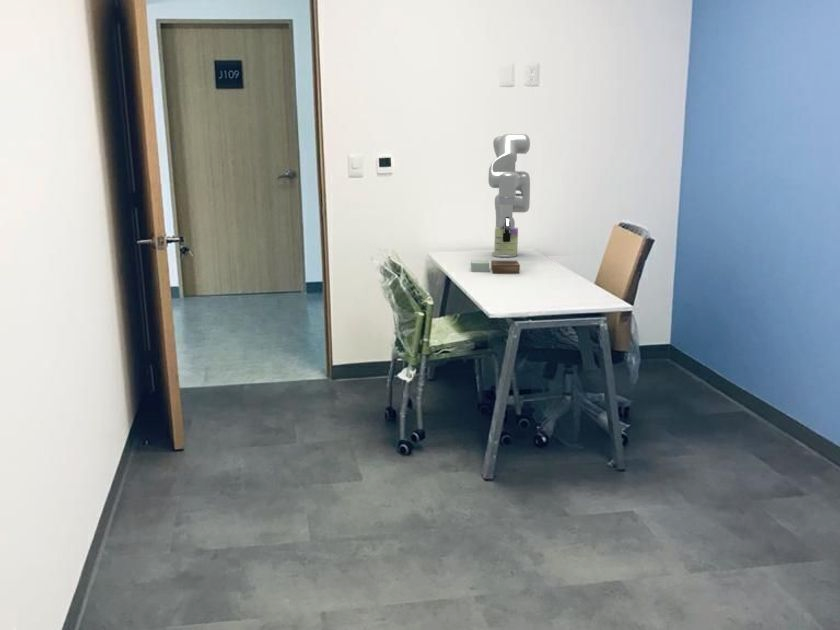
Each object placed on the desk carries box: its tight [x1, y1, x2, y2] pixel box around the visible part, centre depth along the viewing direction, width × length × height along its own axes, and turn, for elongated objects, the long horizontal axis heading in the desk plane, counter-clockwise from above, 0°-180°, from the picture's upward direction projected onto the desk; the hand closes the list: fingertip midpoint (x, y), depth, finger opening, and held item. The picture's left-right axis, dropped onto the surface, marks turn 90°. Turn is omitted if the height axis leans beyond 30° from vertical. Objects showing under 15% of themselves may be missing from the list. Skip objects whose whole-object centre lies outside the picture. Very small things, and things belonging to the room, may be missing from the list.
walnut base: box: [490, 259, 521, 275], centre depth 368 cm, size 12×12×4 cm
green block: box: [470, 259, 490, 273], centre depth 370 cm, size 8×8×4 cm
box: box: [493, 226, 519, 255], centre depth 365 cm, size 10×6×12 cm, turn 84°
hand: (505, 240), depth 365 cm, fingers closed on box, 5 cm apart
